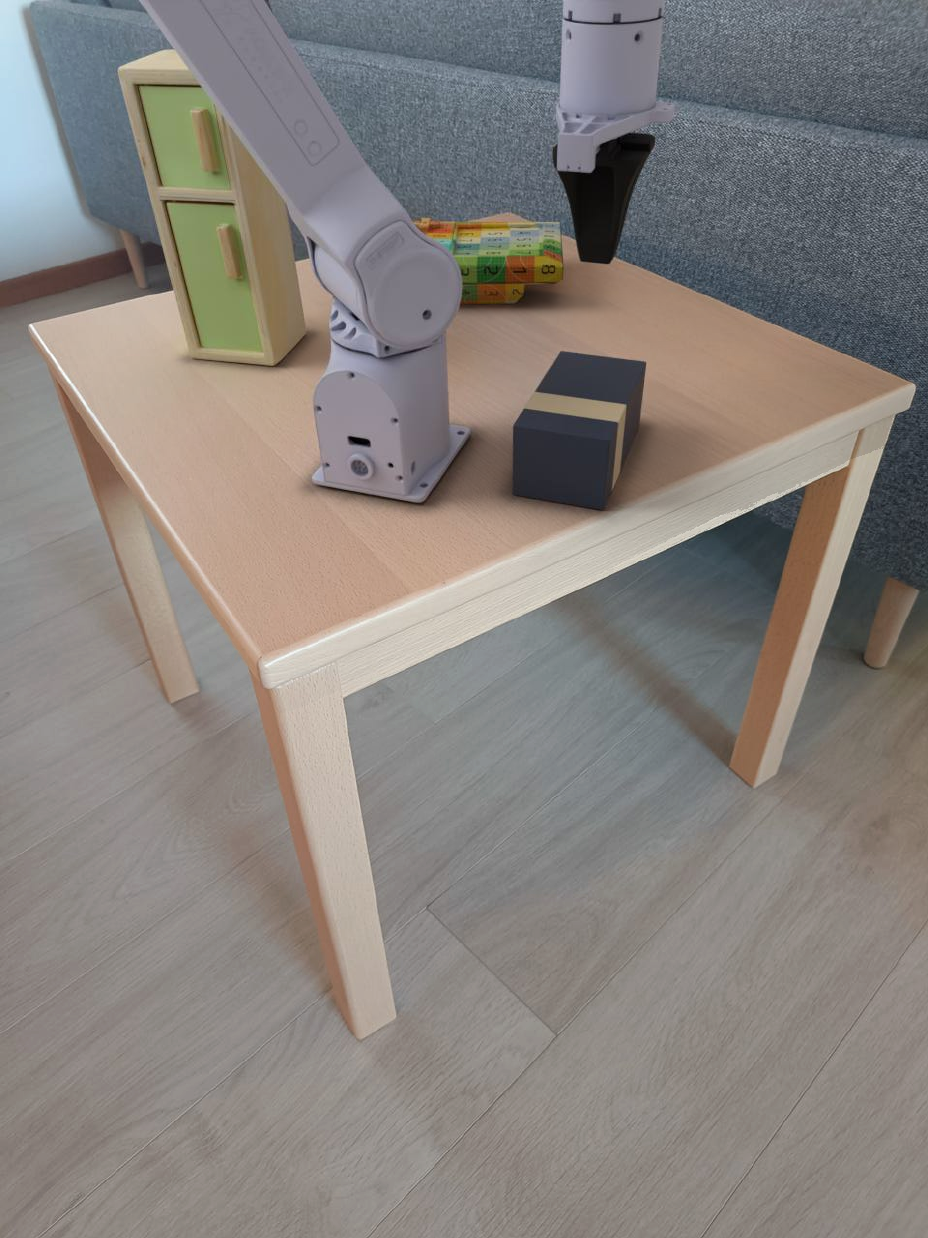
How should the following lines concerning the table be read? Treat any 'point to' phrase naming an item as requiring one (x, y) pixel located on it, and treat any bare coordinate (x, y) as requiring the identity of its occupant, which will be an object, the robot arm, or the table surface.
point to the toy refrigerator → (213, 219)
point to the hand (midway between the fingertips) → (597, 259)
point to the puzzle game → (500, 256)
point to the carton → (578, 429)
